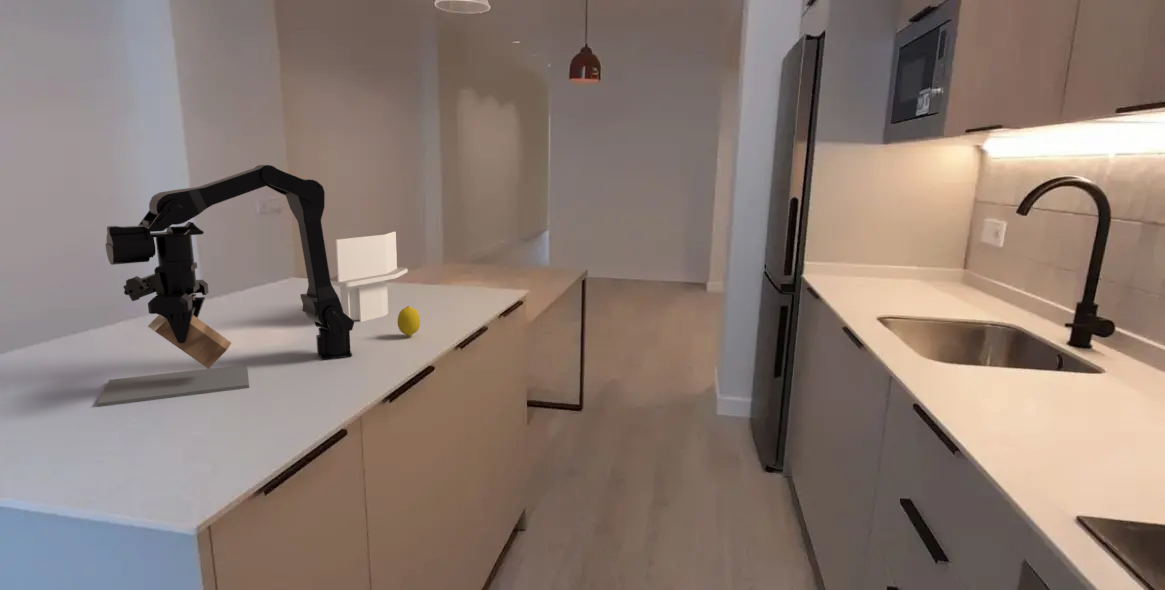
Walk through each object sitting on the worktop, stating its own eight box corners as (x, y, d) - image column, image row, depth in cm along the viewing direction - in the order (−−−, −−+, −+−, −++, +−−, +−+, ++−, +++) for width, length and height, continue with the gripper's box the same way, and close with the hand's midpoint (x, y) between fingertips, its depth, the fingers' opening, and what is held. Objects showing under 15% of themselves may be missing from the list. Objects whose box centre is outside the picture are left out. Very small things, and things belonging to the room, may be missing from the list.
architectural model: (351, 304, 200) (347, 228, 196) (418, 306, 200) (416, 230, 195) (309, 326, 173) (303, 239, 168) (387, 329, 172) (384, 241, 167)
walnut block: (231, 342, 131) (173, 300, 126) (227, 349, 126) (167, 306, 121) (213, 361, 130) (155, 319, 126) (208, 368, 126) (147, 326, 121)
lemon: (393, 338, 163) (392, 307, 162) (407, 332, 168) (406, 302, 167) (411, 340, 161) (410, 309, 160) (424, 335, 166) (424, 305, 165)
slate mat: (247, 367, 138) (247, 364, 138) (249, 387, 126) (248, 384, 126) (109, 382, 127) (109, 379, 127) (97, 406, 115) (97, 403, 115)
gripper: (141, 253, 128) (150, 330, 132) (108, 269, 111) (120, 356, 114) (205, 252, 132) (212, 326, 135) (183, 266, 115) (192, 351, 118)
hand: (185, 339), depth 126 cm, fingers closed on walnut block, 5 cm apart
